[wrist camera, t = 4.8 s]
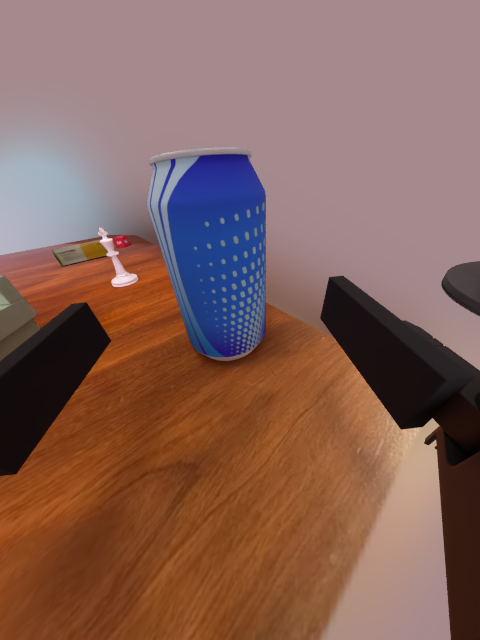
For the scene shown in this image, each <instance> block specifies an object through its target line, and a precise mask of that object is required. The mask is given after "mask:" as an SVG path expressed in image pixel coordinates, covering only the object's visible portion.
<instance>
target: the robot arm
mask: <svg viewBox="0 0 480 640" xmlns="http://www.w3.org/2000/svg"><path fill="white" fill-rule="evenodd" d="M321 320H322V321H323V323H324V324H325V325H326V327H327V328H328V330H329V331H330V332H331V334H332V335H333V336H334V338H335V339H336V341H337V342H338V343H339V345H340V346H341V347H342V349H343V350H344V352H345V353H346V354H347V356H348V357H349V358H350V360H351V361H352V363H353V364H354V365H355V367H356V368H357V369H358V371H359V372H360V374H361V375H362V376H363V378H364V379H365V380H366V382H367V383H368V385H369V386H370V387H371V389H372V390H373V391H374V393H375V394H376V396H377V397H378V398H379V400H380V401H381V402H382V404H383V405H384V407H385V408H386V409H387V411H388V412H389V413H390V415H391V416H392V418H393V419H394V420H395V422H396V423H397V425H398V426H399V427H400V429H409V428H417V427H423V426H424V425H425V424H426V423H427V422H428V421H429V420H431V419H432V418H433V419H434V420H435V421H436V422H437V423H438V424H439V425H440V426H439V427H438V428H437V429H436V430H435V431H433V432H432V433H431V434H430V435H429V436H428V437H427V438H426V439H425V442H424V443H425V444H427V445H429V444H431V443H432V442H433V441H434V440H436V441H437V446H436V447H435V449H437V455H438V468H439V481H440V482H439V483H440V496H441V510H442V522H443V536H444V551H445V563H446V577H447V591H448V605H449V618H450V631H451V640H480V371H479V370H478V369H476V368H475V367H474V366H472V365H471V364H470V363H468V362H467V361H466V360H464V359H463V358H462V357H460V356H459V355H457V354H456V353H455V352H453V351H452V350H450V349H449V348H448V347H446V346H443V344H442V343H441V342H439V341H438V340H437V339H435V338H434V339H433V337H432V336H431V335H430V334H428V333H427V332H426V331H424V330H423V329H422V328H420V327H418V326H415V325H414V324H411V323H409V322H407V321H402V320H400V319H399V318H398V317H396V316H395V315H394V314H392V313H391V312H390V311H389V310H387V309H386V308H385V307H383V306H382V305H380V304H379V303H378V302H377V301H375V300H374V299H373V298H372V297H370V296H369V295H368V294H366V293H365V292H363V291H362V290H361V289H360V288H358V287H357V286H356V285H354V284H353V283H352V282H350V281H349V280H348V279H347V278H345V277H344V276H337V277H329V281H328V285H327V290H326V295H325V299H324V304H323V308H322V313H321ZM110 342H111V340H110V338H109V337H108V335H107V333H106V332H105V330H104V329H103V327H102V326H101V324H100V323H99V321H98V320H97V318H96V316H95V315H94V313H93V312H92V310H91V309H90V307H89V306H88V304H87V303H77V304H71V305H70V306H69V307H68V308H66V309H65V310H64V311H63V312H61V313H60V314H59V315H57V316H56V317H55V318H54V319H52V320H51V321H50V322H49V323H47V324H46V325H45V326H44V327H42V328H41V329H40V330H39V331H37V332H36V333H35V334H34V335H32V336H31V337H30V338H29V339H27V340H26V341H25V342H24V343H22V344H21V345H20V346H18V347H17V348H16V349H15V350H13V351H12V352H11V353H10V354H8V355H7V356H6V357H5V358H3V359H2V360H1V361H0V476H4V475H13V474H17V472H18V471H19V469H20V468H21V467H22V465H23V464H24V462H25V461H26V460H27V458H28V457H29V455H30V454H31V453H32V451H33V450H34V448H35V447H36V446H37V444H38V443H39V441H40V440H41V438H42V437H43V436H44V434H45V433H46V431H47V430H48V429H49V427H50V426H51V424H52V423H53V422H54V420H55V419H56V417H57V416H58V415H59V413H60V412H61V410H62V409H63V408H64V406H65V405H66V403H67V402H68V401H69V399H70V398H71V396H72V395H73V394H74V392H75V391H76V389H77V388H78V387H79V385H80V384H81V382H82V381H83V380H84V378H85V377H86V375H87V374H88V373H89V371H90V370H91V368H92V367H93V366H94V364H95V363H96V361H97V360H98V359H99V357H100V356H101V354H102V353H103V352H104V350H105V349H106V347H107V346H108V345H109V343H110Z"/></svg>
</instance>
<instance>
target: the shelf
mask: <svg viewBox="0 0 480 640" xmlns="http://www.w3.org/2000/svg"><path fill="white" fill-rule="evenodd" d="M37 315H38V314H37V312H36V311H35V310H34V309H33V308H32V307H31V305H30V304H29V303H28V302H27V301H26V300H25V299H24V298H22V295H21V294H20V293H19V292H18V291H17V290H16V288H15V287H14V286H13V285H12V284H11V283H10V282H9V280H8V279H7V278H6V277H5V276H0V361H1V360H2V359H3V358H5V357H6V356H7V355H8V354H10V353H11V352H12V351H13V350H15V349H16V348H17V347H18V346H20V345H21V344H22V343H24V342H25V341H26V340H27V339H29V338H30V337H31V336H32V335H34V334H35V333H36V332H37V331H39V330H40V329H41V328H40V327H39V326H38V325H37V324H36V323H35V321H34V320H33V319H32V318H34V317H35V316H37Z"/></svg>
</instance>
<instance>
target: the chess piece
mask: <svg viewBox="0 0 480 640" xmlns="http://www.w3.org/2000/svg"><path fill="white" fill-rule="evenodd" d="M99 231H100V232H98V234H99V235H102V237H103V239H102V240H100V243H101V244H102V245H103V246H104V247H105V248H106V250H107V251H108V253H107V254H106V256H111V258H112V261H113V264H114V267H115V270H116V273H117V275H116V276H117V277H115V278H114V279H113V280H112V281H111V283H112V286H113V287H124V286H128V285H131V284H133V283H135V282H137V281H138V279H139V278H138V277H137V275H136V274H128V272H126V271H125V269H124V268H123V266H122V264H121V263H120V261H119V259H118V258H117V256H116V255H118V254H119V252H118V251H115V250H114V246H113V239H111V238H107V236H106V235H107V234H108V233H107V232H104V230H103V228H99Z"/></svg>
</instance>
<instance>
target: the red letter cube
mask: <svg viewBox="0 0 480 640" xmlns="http://www.w3.org/2000/svg"><path fill="white" fill-rule="evenodd" d="M113 240H114V242H115V244H116V246H117V248H120V247H127V246H129V245H130V243H129V241H128V238H127V236H117V237H115V238H113Z"/></svg>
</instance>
